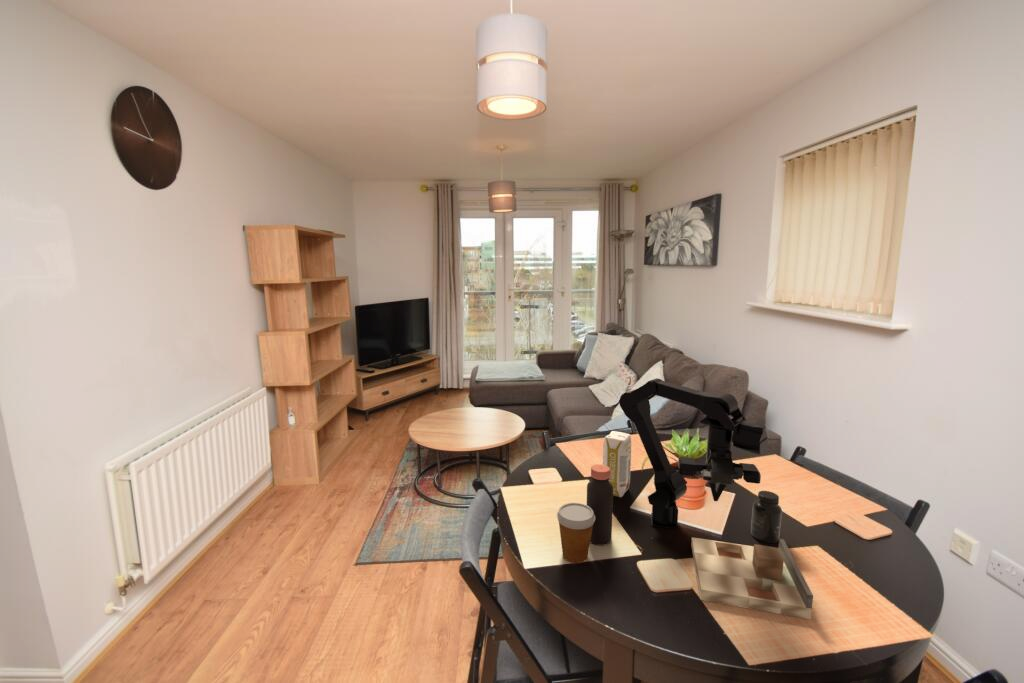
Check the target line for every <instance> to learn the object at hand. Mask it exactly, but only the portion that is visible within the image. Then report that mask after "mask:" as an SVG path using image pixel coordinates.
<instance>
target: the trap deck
mask: <svg viewBox="0 0 1024 683" xmlns="http://www.w3.org/2000/svg"><path fill="white" fill-rule="evenodd" d="M690 547H691V553H692V559H693V565H694V570H695V575H696V581H697V587H698V592H699V598H700V601H706V602H712V603H716V604H717V603H718V604H723V605H728V606H733V607H734V606H735V607H739V608H745V609H751V610H754V611H755V610H756V611H760V612H761V611H762V612H766V613H767V612H768V613H773V614H777V615H778V614H779V615H782V616H783V615H784V616H789V617H793V618H799V619H805V620H806V619H807V620H811V619H812V618H811V617H812V610H813V601H814V600H813V599H814V594H813V592H812V591H811V589H810V586H809V585H808V583H807V581H806V578H805V577H804V575H803V573H802V571H801V570H800V567H799V566H798V564H797V561H795V558H794V556H793V554H792V552H791V550H790V549H789V547H788V545H787V543H786V541H785V539H783V538H779V540H778V547H777V548H778V549H779V551H780V554H781V556H782V558H783V561H784V563H783V573H782V582H780V581H775V580H770V579H764V578H759V577H756V574H755V571H754V567H753V564H752V561H753V550H754V545H747V544H739V543H733V542H726V541H718V540H712V539H705V538H698V537H691V545H690Z"/></svg>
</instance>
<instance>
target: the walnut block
mask: <svg viewBox="0 0 1024 683" xmlns="http://www.w3.org/2000/svg"><path fill="white" fill-rule="evenodd" d="M753 546H754V550H753V561H752V564H753V567H754V571H755V574H756V577H759V578H764V579H770V580H775V581H780V582H782V573H783V563H784V561H783V558H782V556H781V554H780V551H779V549H778V547H775V546H769V545H762V544H755V543H754V544H753Z"/></svg>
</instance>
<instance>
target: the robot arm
mask: <svg viewBox="0 0 1024 683" xmlns="http://www.w3.org/2000/svg"><path fill="white" fill-rule="evenodd" d="M656 396H657V397H660V398H664V399H666V400H670V401H673V402H678V403H679V404H684V405H685V406H689V407H691V408H695V409H697V410H698V411H699V412H701V414H703V415H705V417H704V418H703V419H701V420H699V422H700V424H703V425H707V426H708V427H707V438H706V439H707V441H706V455H705V463H701V462H696V459H695V457H689V456H688V457H686V456H680V457H679V458H678V460H677V467H678V470H677V469H675V467H673V466H672V465H671V462H670V459H669V458H668V456H667V453H666V451H665V449H664V447H663V444H662V442H661V440H660V437H659V435H658V432H657V430H656V428H655V426H654V423H653V421H652V418H651V402H650V400H651V399H652V398H654V397H656ZM618 403H619V406H620V408H621V410H622V412H623V413H624V416H625V417H626V418H627V419H629V420H630V421H631V422H632V423H633V424H634V427H635V429H636V431H637V434H638V436H639V438H640V439H639V440H641V444H642V446H643V448H644V450H645V453H646V455H647V457H648V460H649V462H650V464H651V468H652V469H653V472H654V473H653V474H654V476H653V480H654V481H653V484H654V487H655V491H654V492H652V493H651V494H649V495H648V496H647V500H648V504H649V505H651V514H650V517H651V518H650V520H651V521H650V522H651V524H650V525H651V526H652V527H658V528H665V529H672V530H676V529H677V524H678V520H679V507H678V505H677V501H678V500H680V498H682V497H683V496H684V495H686V493H687V490H688V486H687V484H688V481H687V480H686V479H685V477H684V476H688V477H693V476H695V475H696V474H697V471H698V472H700V474H701V476H702V480H704V481H707V483H708V485H709V488H710V491H711V495H712V499H713V501H714V502H718V501H719V499H720V497H721V496H722V494H723V491H724V489H725V488H726V487H727V486H728V485H733V484H734V483H735V482H736V481H735V480H740V479H741V480H742V479H743V480H744V482H746V483H750V484H757V485H758V484H759V485H760V483H761V478H762V477H761V472H760V471H759V469H758V467H757V465H755V464H754V463H743V462H739V463H736V462H733V459H732V454H733V453H732V449H733V447H735V448H736V449H738V450H741V451H745V452H747V453H751V454H755V455H758V456H759V455H760V456H763V455H765V453H766V450H767V448H768V446H769V445H768V443H769V437H768V432H767V429H766V428H767V427H766V426H765V425H761V424H759V425H758V424H753V423H748V422H747V419H746V417H745V416H744V414H743V412H742V411H741V409H740V407H739V403H738V400H737V399H736V398H735V395H734V394H731V393H729V392H718V391H717V392H716V391H701V390H698V389H695V388H690V387H686V386H684V385H679V384H676V383H673V382H669V381H666V380H663V379H661V378H653V379H651V380H647V382H646V383H644V384H643V385H641V386H639V387H638V388H635V389H633V390H629V391H627V392H623V393H622V394H620V397H619V400H618ZM731 417H732V418H731Z"/></svg>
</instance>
